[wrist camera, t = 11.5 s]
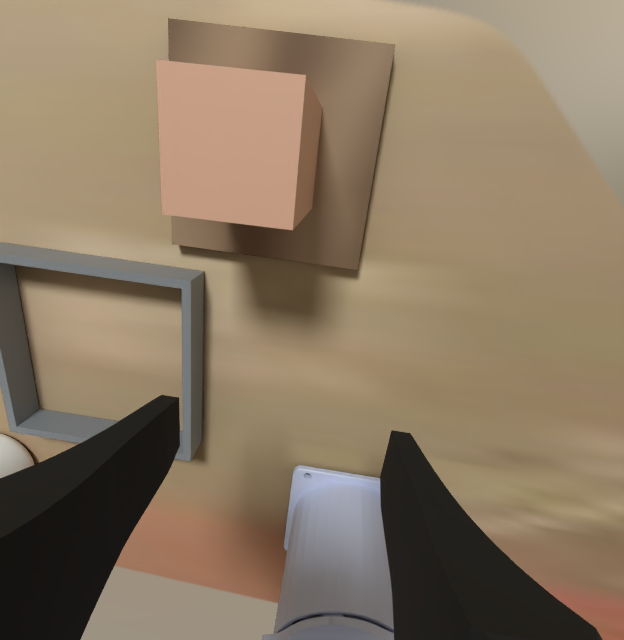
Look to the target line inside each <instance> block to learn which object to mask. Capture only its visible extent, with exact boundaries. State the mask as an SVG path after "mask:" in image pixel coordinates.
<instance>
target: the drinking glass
mask: <svg viewBox="0 0 624 640" xmlns="http://www.w3.org/2000/svg"><path fill="white" fill-rule="evenodd" d="M33 465H35V464H34V461H33V459H32V456H31V455H30V453H29V452H28V451H27V449H26V448H25V447H24V446H23V445H22V444H20V443H19V442H18V441H16V440H15V439H13V438H11V437H9V436H7V435H4V434H1V433H0V478H2V477H5V476H8V475H10V474H13V473H15V472H18V471H20V470H23V469H25V468H28V467H30V466H33Z"/></svg>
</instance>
